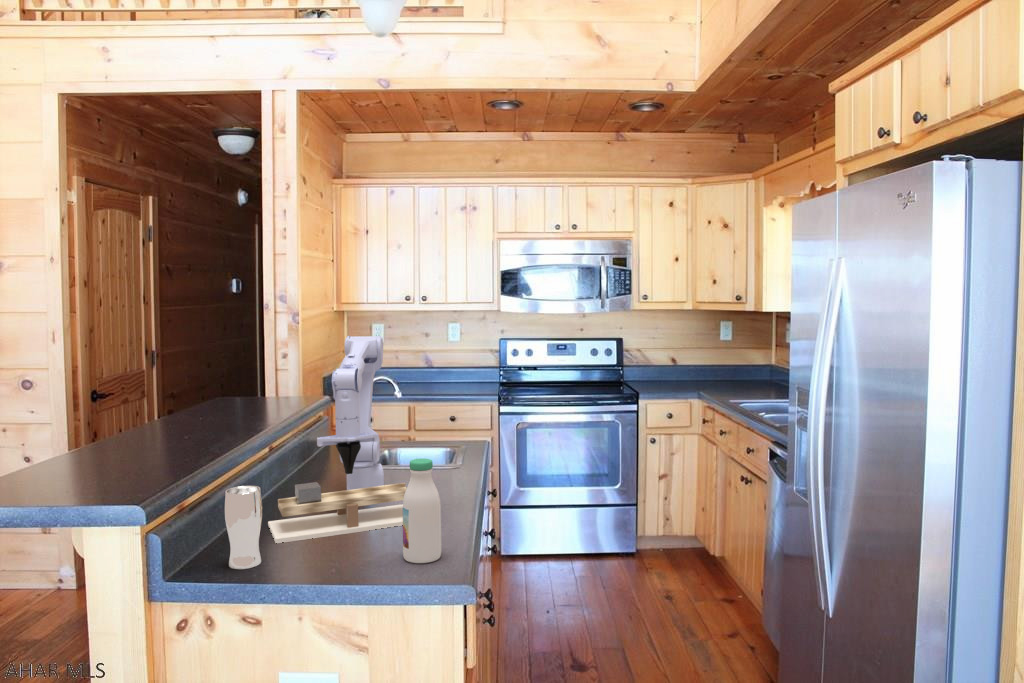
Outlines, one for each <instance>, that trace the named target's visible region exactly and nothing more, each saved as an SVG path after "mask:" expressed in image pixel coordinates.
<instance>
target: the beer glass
mask: <svg viewBox="0 0 1024 683" xmlns="http://www.w3.org/2000/svg"><path fill="white" fill-rule="evenodd" d="M261 492H262V491H261V487H260V486H257V485H241V486H239V485H238V486H235V487H230V488H228V489H226V490H225V492H224V494H225V499H224V520H225V526H226V530H227V534H228V541H229V546H230V554H229V560H228V568H230V569H233V570H247V569H252V568H254V567H257V566H259V565H260V564H261V563H262V557H261V553H260V546H259V545H260V543H259V542H260V535H261V534H260V532H261V527H262V520H263V501H262V493H261Z"/></svg>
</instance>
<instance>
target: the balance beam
mask: <svg viewBox="0 0 1024 683" xmlns="http://www.w3.org/2000/svg"><path fill="white" fill-rule="evenodd" d="M406 489H407V487H406V482H401V483H400V482H399V483H394V484H393V483H392V484H384V485H383V486H375V487H367V488H360V489H352V490H347V489H346V490H345V489H344V490H338V491H331V492H323V493H322V492H321V502H315V503H307V504H300V505H297V503H296V500H295V496H292V497H284V498H278V499H277V508H278V510H279V512H280V514H281V517H282V518H286V517H292V516H294V517H295V516H298V515H299V516H300V515H306V514H307V515H308V514H314V513H315V514H316V513H321V512H327V511H329V512H330V511H335V510H336V511H337V509H343V508H346V505H349V504H358V507H362V506H370V505H376V504H377V505H378V504H384V503H391V502H393V503H394V502H398V501H403V499H404V494H405V492H406Z"/></svg>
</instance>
